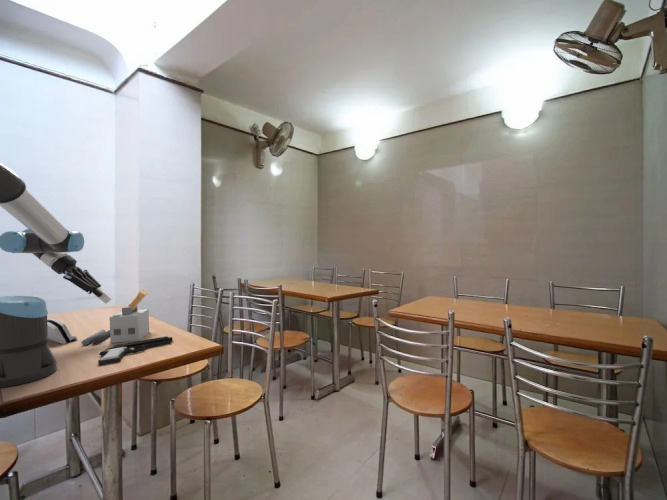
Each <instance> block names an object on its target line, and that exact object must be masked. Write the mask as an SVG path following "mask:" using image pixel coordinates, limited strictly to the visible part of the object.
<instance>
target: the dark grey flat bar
mask: <svg viewBox="0 0 667 500" xmlns="http://www.w3.org/2000/svg"><path fill="white" fill-rule="evenodd" d="M108 338H110V329H109V330H107V331H106V330H105V329H101V330H99V331H97V332H95V333H93V334H92V335H90V336H88V337H87V338H84V339H83V340H82V341H81V344H82V345H83V346H88V345H89V344H92V345H95V346H96V345H98V344H99V343H101V342H102V341H104V340H106V339H108Z"/></svg>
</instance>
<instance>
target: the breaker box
mask: <svg viewBox="0 0 667 500" xmlns="http://www.w3.org/2000/svg"><path fill="white" fill-rule="evenodd" d="M130 304H131V303H130ZM130 304H128V306H129V305H130ZM128 306H127V307H126V306H125V307H121V311H120V312H117V313H115V314H113V315H112V316H109V330H110V336H109V338H110V339H109V340H110V341H109V343H111V344H112V343H122V342H125V343H126V342H136V341H141V339H143V338H144V337H145V336H147V334H149V333H150V315H149V313H150V312H149V311H150V310H149V308H148V309H146V308H145V309H138V305H137V306H136V307H135V308H136V309H135V310H134V311H132V312H131V307H128Z"/></svg>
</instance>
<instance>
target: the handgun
mask: <svg viewBox="0 0 667 500" xmlns="http://www.w3.org/2000/svg"><path fill="white" fill-rule="evenodd" d="M173 340H174V339H173V336H166V335H165V336H160V337H153V338H149V339H143V340H137V341H129V342H125V343H120V344H115V345H113V346H111V347H108V348H106V349H105V350H102V351H100V353H98V354H99V355H100V356H101V358H100V359H98V360H97V363H98V365H101V366H102V365H109V364H115V363H119V362H120V361H121V358H122V357H123V356H126V355H129V354H130V355H132V354H136V353H140V352H144V351H145V349H149V348H154V347H161V346H165V345H169V344H171V342H173Z"/></svg>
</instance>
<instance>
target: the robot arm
mask: <svg viewBox="0 0 667 500" xmlns="http://www.w3.org/2000/svg"><path fill="white" fill-rule="evenodd" d="M0 207H1V208H2V209H4V210H5V211H6V212H7V213H8V214H9V215H10V216H12V217H13V218H15V220H17V221H18V222H20V224H22V225H23V226H24V227H25V228H26V229H24V230H22V231H19V230H10V231H5V232H3V233H2V234H1V235H0V249H1V250H2V251H4V252H6V253H12V254H32V255H34V256H35V257H36V258H37V259H38V260H40V261H41V262H42V263H43V264H44V265H46V266H47V267H48V268H50V269H51V270H52V271H54V272H55V273H56V274H58V275H63V276H62V278H63V279H64V280H66V281H68V282H70V283H72V284H73V285H75V286H76V287H78V288H80V289H81V290H82V291H84V292H86V293H87V294H88V295H91V294H93V295H94V296H95V297H96V298H98V299H99V300H101V302H103V303H104V304H108V303H109V302H110V301H111V300H112V299H113V297H112V296H111V295H110V294H108V293H107V292H106V291H104V290H103V289H102V288H101V287H102V284H100V282H98V280H97V279H95V278H94V276H93V275H92V274H90V272H89V271H88V270H87V269H84V270H83V269H82V268H81V267H79V266H77V265H76V264H77V260H76V259H75V258H74V257H73V256H71V255H69V253H73V252H75V253H76V252H81V251H82V250H83V249H84V246H85V238H84V235H83V233H81V232H79V231H73V230H72V231H69V230H68V229H67V228H66V227H65V226H64V224H62V223H61V222H60V221H59V220H58V219H57V218H56V217H55V216H54V215H53V214H52V213H51V212H50V211H49V210H48V209H47V208H46V207H45V206H44V205H43V204H42V203H41V202H40V201H39V200H38V199H37V198H36V197H35V196H33V194H31V192H30V191H28V190H27V185H26V182H25V181H24V180H23V179H22V178H21V176H19V175H18V174H17V173H16V172H14V170H13V169H10V168H9V167H8V166H6V164H5V165H4V164H3V163H2V162H0ZM48 314H49V313H48V308H47V302H46V301H45V300H44V299H43V298H41V297H38V296H31V295H12V296H11V295H10V296H5V295H4V296H0V388H7V387H13V386H18V385H23V384H27V383H31V382H34V381H37V380H39V379H42V378H45V377H48V376H49V375H52V374H53V373H54V372H56V370H57V369H58V367H57V360H56V357H55V356H54V354H53V353H52V350H51V349H50V348H51V347H50V346H49V339H48V327H47V320H48Z"/></svg>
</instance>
